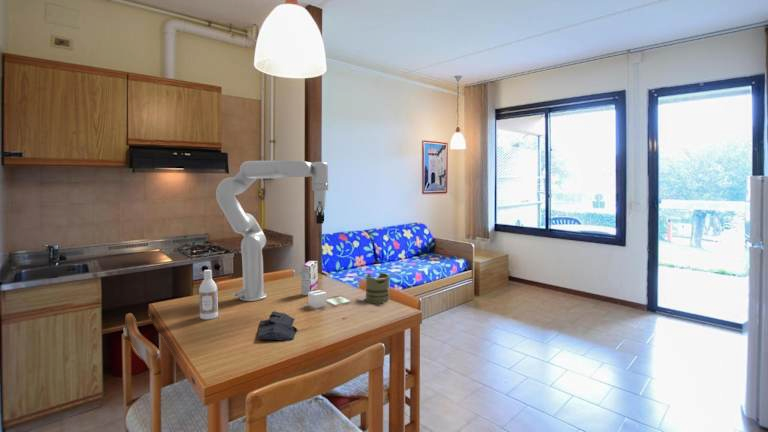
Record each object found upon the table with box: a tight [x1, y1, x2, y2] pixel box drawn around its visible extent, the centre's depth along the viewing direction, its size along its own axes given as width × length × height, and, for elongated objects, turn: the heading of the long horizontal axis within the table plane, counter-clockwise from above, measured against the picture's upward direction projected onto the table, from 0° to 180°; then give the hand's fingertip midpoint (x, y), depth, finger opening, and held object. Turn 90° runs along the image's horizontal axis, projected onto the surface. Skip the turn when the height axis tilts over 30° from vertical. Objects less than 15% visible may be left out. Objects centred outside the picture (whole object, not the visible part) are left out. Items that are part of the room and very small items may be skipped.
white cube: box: [307, 289, 328, 309], centre depth 175 cm, size 6×6×6 cm
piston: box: [365, 272, 390, 304], centre depth 189 cm, size 11×12×11 cm
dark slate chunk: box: [257, 310, 298, 342], centre depth 150 cm, size 15×22×5 cm
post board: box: [300, 294, 357, 313], centre depth 179 cm, size 22×14×6 cm, turn 130°
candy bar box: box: [300, 260, 319, 296], centre depth 196 cm, size 11×5×16 cm, turn 170°
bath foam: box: [198, 269, 219, 321], centre depth 162 cm, size 7×7×20 cm
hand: (320, 222), depth 191 cm, fingers open, 9 cm apart
